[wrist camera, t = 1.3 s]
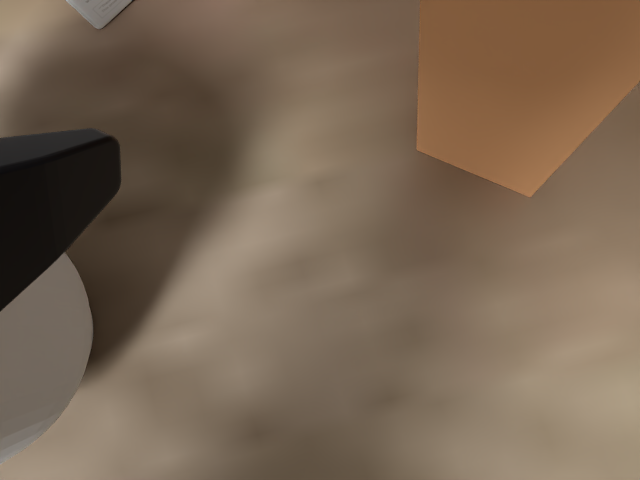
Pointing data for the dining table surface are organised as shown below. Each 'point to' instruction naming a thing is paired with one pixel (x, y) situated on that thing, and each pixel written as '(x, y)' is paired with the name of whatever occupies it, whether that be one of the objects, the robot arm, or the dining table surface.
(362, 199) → the dining table surface
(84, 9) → the supplement box
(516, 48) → the orange carton
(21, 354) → the teacup
